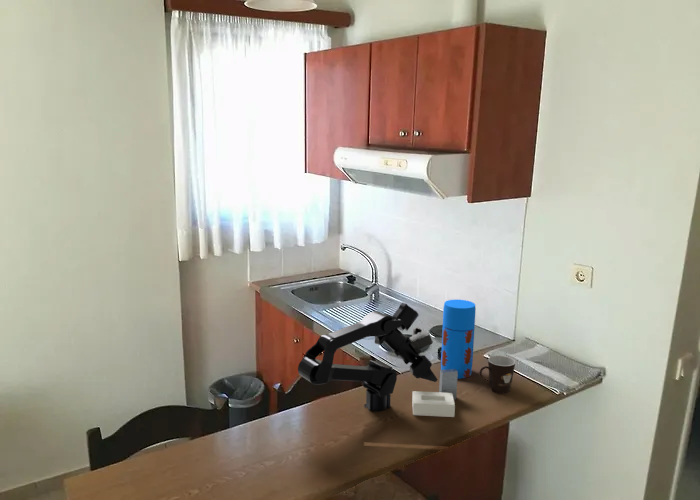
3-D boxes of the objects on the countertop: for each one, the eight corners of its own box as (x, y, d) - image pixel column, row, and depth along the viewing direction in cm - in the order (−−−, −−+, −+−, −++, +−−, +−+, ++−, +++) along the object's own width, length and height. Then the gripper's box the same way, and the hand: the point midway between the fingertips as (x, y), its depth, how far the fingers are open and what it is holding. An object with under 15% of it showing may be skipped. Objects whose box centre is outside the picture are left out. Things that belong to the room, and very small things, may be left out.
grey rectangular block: (441, 402, 175) (442, 372, 173) (438, 399, 176) (440, 370, 174) (456, 401, 176) (457, 371, 174) (453, 398, 177) (455, 368, 176)
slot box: (412, 417, 165) (413, 403, 164) (412, 404, 173) (412, 391, 172) (454, 419, 164) (454, 405, 163) (451, 406, 172) (452, 392, 171)
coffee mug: (510, 384, 188) (512, 356, 186) (515, 396, 180) (517, 366, 178) (475, 382, 189) (477, 354, 187) (478, 394, 181) (480, 364, 179)
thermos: (434, 369, 200) (437, 301, 195) (459, 364, 204) (463, 298, 199) (452, 380, 190) (456, 310, 185) (478, 375, 195) (482, 306, 190)
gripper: (425, 334, 160) (461, 368, 164) (408, 313, 178) (440, 344, 182) (398, 361, 160) (434, 395, 164) (383, 338, 178) (416, 369, 182)
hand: (431, 374), depth 173 cm, fingers open, 9 cm apart
